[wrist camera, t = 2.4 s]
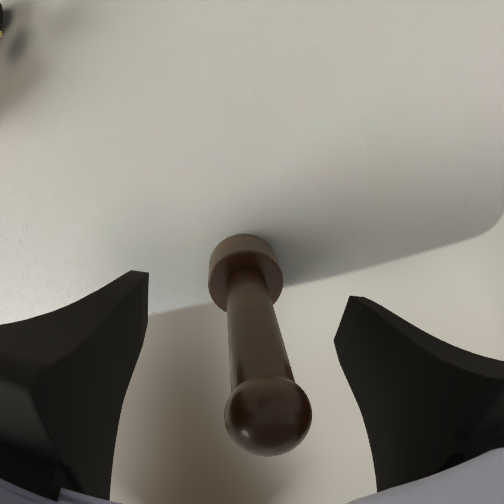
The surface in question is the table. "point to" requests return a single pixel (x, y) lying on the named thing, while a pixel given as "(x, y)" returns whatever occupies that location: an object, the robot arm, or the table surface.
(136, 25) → the table surface
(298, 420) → the dark brown pestle
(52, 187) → the table surface
